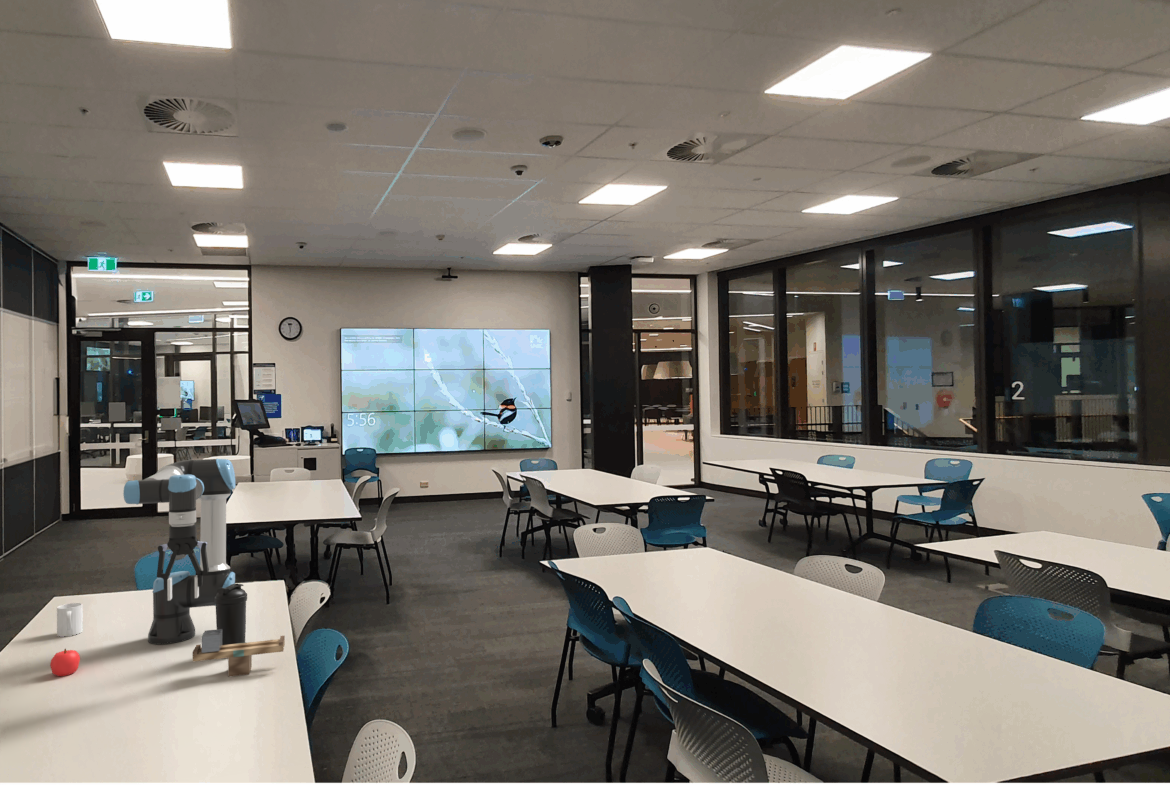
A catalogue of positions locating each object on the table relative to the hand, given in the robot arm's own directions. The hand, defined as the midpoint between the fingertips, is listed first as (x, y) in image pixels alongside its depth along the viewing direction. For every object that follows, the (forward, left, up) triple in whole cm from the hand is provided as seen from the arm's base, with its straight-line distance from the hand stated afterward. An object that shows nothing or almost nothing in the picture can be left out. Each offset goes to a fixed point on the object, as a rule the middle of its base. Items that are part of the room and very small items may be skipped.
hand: (183, 598), depth 232 cm
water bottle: (+11, +20, -25) cm, 34 cm away
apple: (-37, +18, -25) cm, 48 cm away
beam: (+16, 0, -25) cm, 30 cm away
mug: (-49, +63, -25) cm, 84 cm away
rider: (+8, 0, -19) cm, 20 cm away
